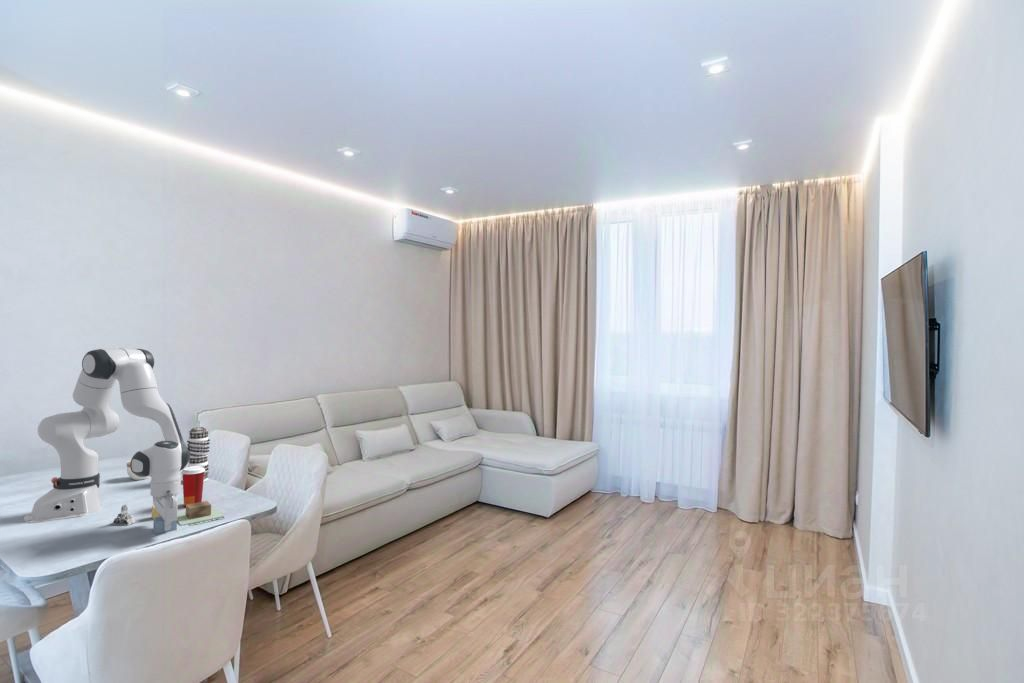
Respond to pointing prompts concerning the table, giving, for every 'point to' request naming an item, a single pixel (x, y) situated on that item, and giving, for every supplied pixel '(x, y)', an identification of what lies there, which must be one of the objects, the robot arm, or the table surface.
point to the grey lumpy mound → (124, 517)
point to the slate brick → (162, 525)
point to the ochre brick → (154, 513)
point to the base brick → (198, 510)
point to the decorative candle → (199, 448)
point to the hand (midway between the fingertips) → (165, 527)
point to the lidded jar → (133, 473)
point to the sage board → (184, 520)
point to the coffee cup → (193, 484)
